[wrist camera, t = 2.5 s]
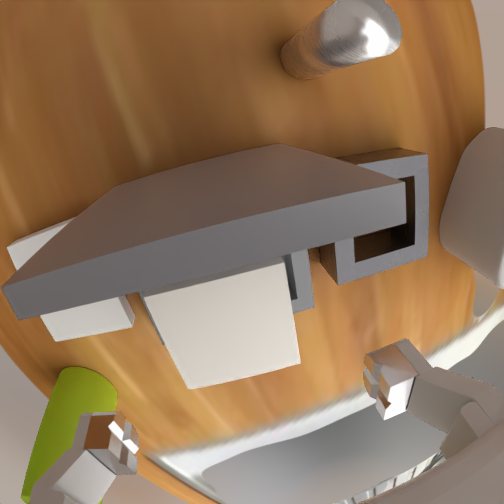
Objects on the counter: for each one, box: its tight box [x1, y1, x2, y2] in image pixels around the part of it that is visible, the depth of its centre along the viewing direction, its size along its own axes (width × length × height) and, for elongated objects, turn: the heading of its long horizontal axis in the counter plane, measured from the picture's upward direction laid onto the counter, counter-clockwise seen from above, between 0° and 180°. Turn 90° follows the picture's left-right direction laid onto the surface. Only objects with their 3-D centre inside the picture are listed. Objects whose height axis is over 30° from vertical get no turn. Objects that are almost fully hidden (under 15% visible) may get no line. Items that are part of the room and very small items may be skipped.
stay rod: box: [280, 0, 402, 80], centre depth 11 cm, size 3×3×8 cm
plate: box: [7, 217, 135, 342], centre depth 18 cm, size 8×7×1 cm
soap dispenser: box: [21, 367, 117, 504], centre depth 13 cm, size 6×7×20 cm
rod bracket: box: [319, 148, 429, 285], centre depth 18 cm, size 7×7×3 cm
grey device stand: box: [1, 143, 406, 345], centre depth 13 cm, size 10×10×12 cm
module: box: [144, 256, 301, 390], centre depth 15 cm, size 5×5×8 cm
